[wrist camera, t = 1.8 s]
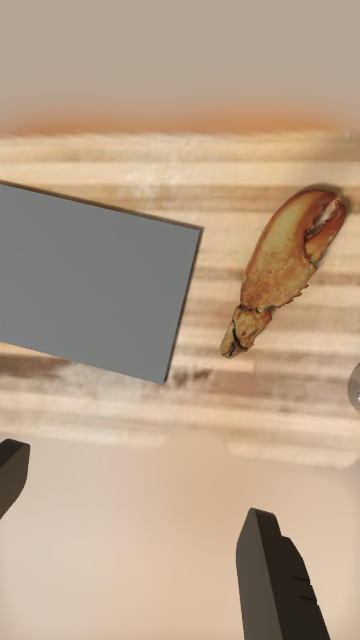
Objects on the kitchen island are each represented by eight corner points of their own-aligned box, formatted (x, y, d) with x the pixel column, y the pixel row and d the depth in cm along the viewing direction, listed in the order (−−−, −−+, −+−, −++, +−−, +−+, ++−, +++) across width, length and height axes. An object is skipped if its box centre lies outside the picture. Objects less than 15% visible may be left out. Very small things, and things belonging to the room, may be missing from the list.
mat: (200, 231, 28) (199, 230, 27) (163, 382, 32) (163, 384, 31) (-16, 181, 29) (-20, 179, 28) (-24, 332, 33) (-28, 333, 32)
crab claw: (190, 336, 25) (303, 168, 24) (195, 335, 30) (289, 196, 29) (247, 376, 24) (370, 202, 23) (243, 368, 29) (343, 225, 28)
